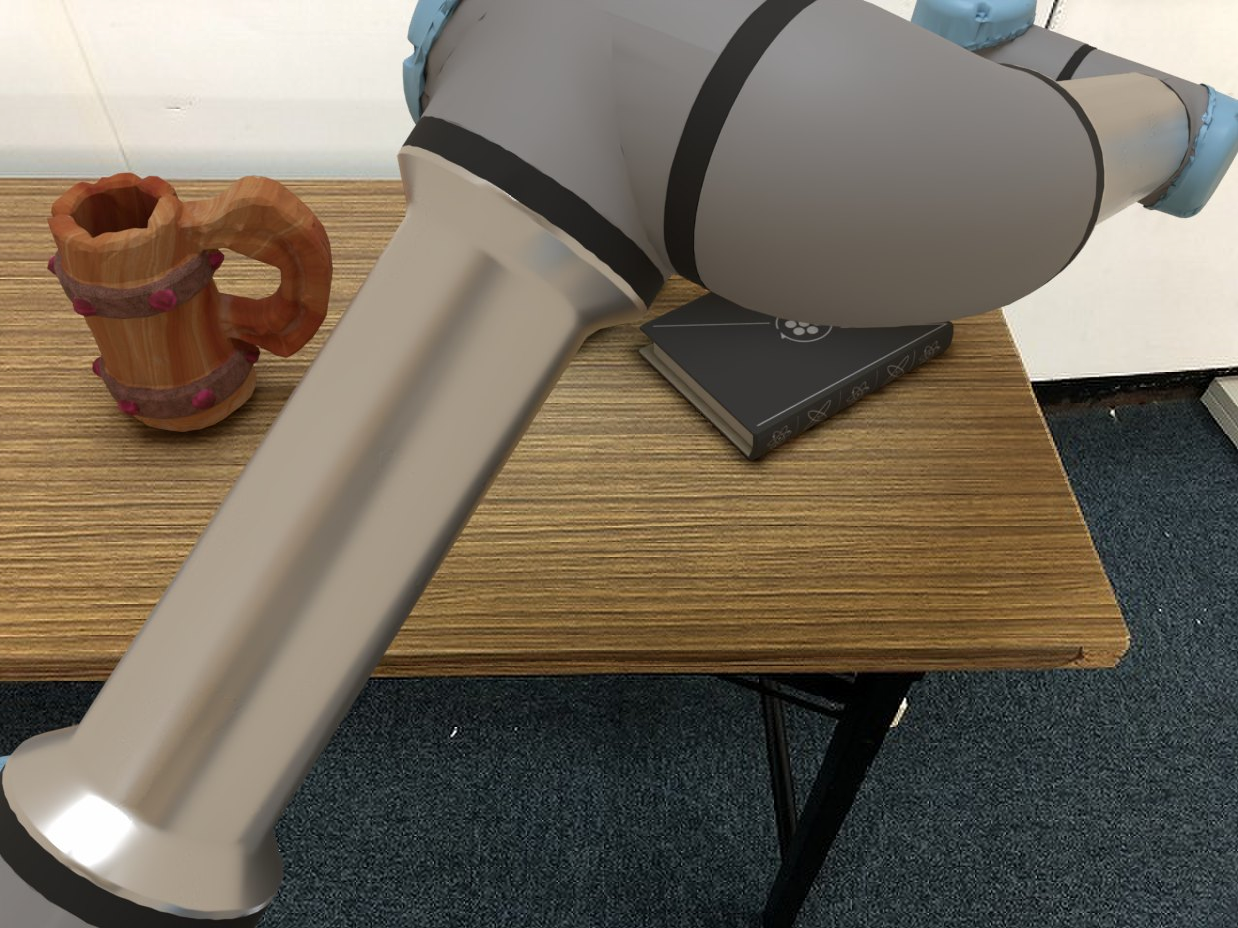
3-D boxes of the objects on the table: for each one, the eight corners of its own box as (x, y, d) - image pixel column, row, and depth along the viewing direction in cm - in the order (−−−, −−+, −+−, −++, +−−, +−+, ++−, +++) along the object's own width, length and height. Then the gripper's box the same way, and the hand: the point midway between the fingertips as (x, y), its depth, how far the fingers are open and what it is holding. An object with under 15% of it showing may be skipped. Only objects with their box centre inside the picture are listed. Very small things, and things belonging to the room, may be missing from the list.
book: (753, 464, 84) (758, 438, 81) (636, 352, 91) (638, 325, 89) (948, 353, 92) (958, 326, 90) (827, 259, 100) (833, 232, 98)
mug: (95, 454, 82) (-11, 245, 67) (124, 355, 89) (33, 145, 74) (354, 442, 84) (306, 235, 69) (362, 346, 91) (321, 138, 76)
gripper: (774, 299, 79) (465, 259, 81) (792, 138, 92) (526, 107, 94) (790, 213, 73) (456, 172, 75) (807, 55, 86) (523, 23, 88)
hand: (496, 136), depth 84 cm, fingers closed on coffee cup, 8 cm apart
